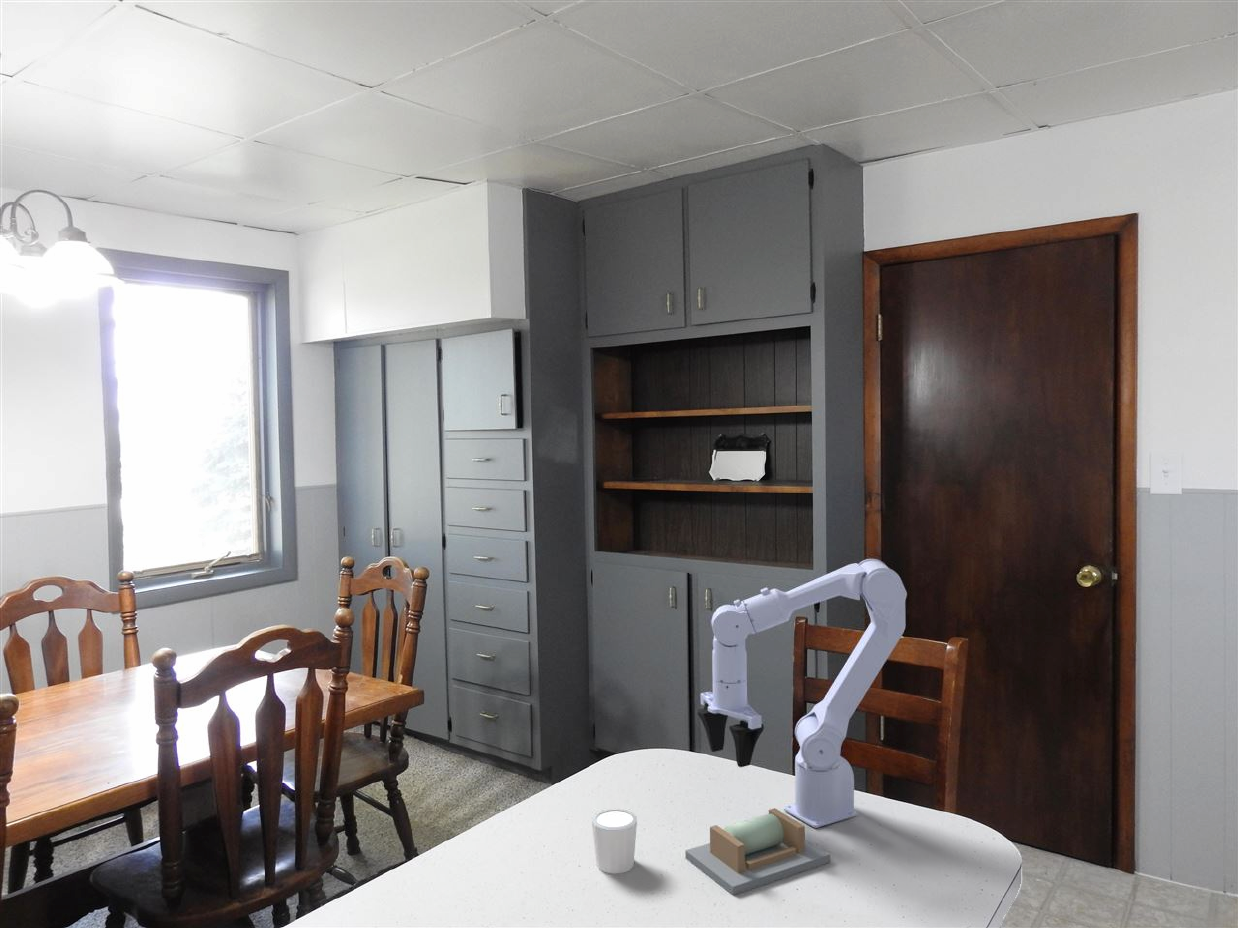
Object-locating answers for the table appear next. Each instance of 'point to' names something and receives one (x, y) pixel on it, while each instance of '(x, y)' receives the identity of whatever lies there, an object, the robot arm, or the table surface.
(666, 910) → the table surface
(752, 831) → the roll
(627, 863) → the white cup
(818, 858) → the holder
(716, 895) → the table surface
